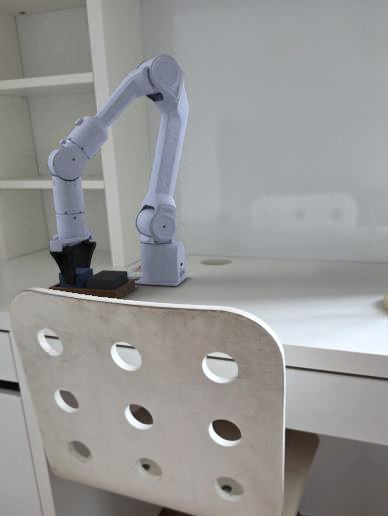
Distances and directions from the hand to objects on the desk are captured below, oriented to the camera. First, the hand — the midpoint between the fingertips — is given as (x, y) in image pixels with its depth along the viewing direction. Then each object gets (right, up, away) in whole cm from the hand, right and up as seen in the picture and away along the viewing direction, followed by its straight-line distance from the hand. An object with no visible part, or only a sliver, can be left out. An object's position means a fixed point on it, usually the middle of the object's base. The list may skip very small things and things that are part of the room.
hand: (77, 280), depth 108 cm
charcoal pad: (+7, -2, -1) cm, 7 cm away
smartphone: (+13, +4, +16) cm, 22 cm away
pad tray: (+3, -3, 0) cm, 4 cm away
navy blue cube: (0, -2, +1) cm, 2 cm away
